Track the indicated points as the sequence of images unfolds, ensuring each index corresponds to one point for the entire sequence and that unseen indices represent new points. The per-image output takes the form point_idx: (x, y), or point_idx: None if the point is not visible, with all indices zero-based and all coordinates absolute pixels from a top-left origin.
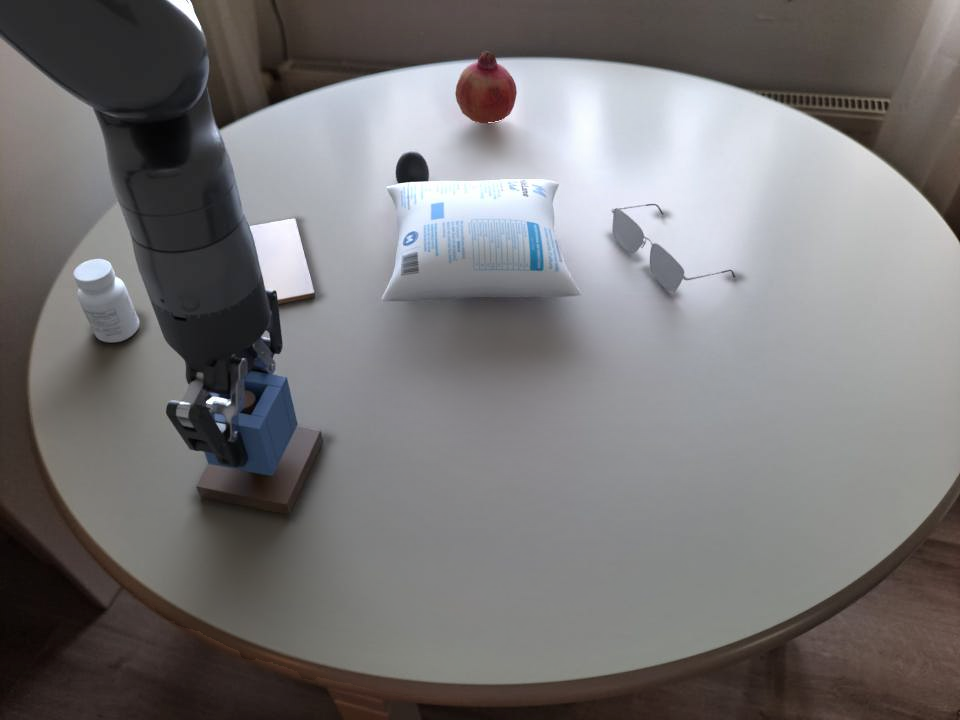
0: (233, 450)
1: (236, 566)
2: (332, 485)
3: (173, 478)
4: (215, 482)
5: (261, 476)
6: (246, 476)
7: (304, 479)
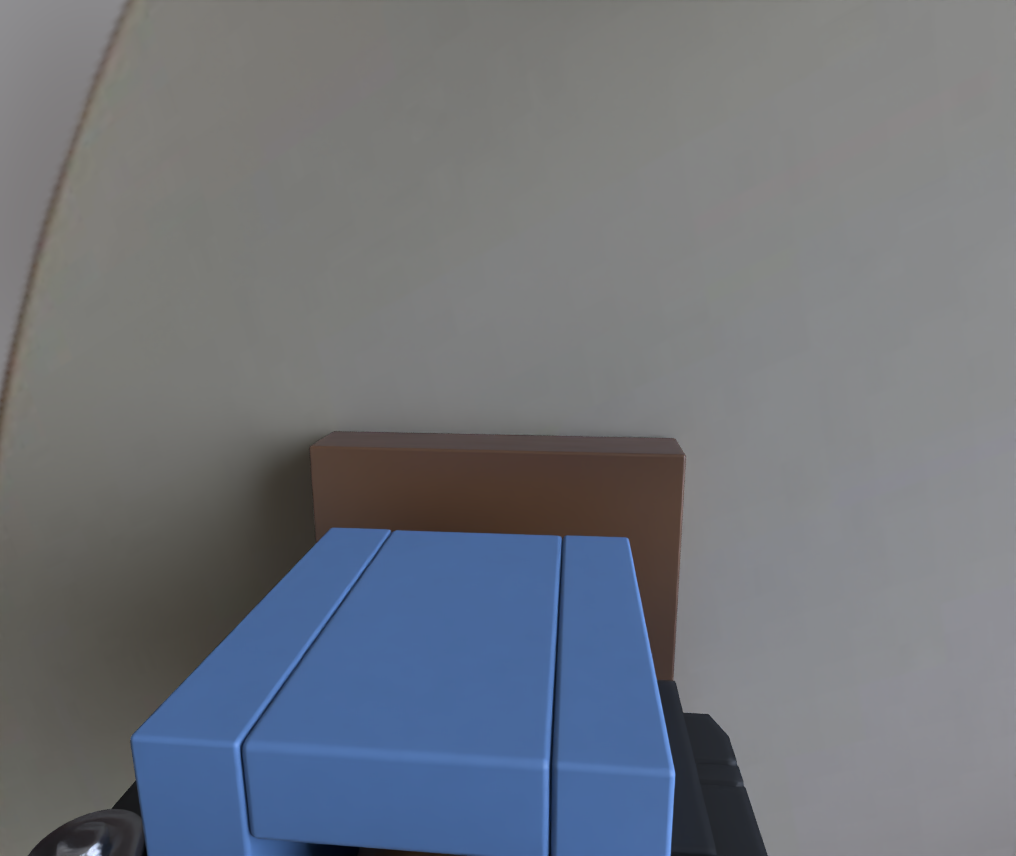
0: None
1: (149, 636)
2: None
3: (380, 297)
4: (346, 508)
5: None
6: None
7: None
